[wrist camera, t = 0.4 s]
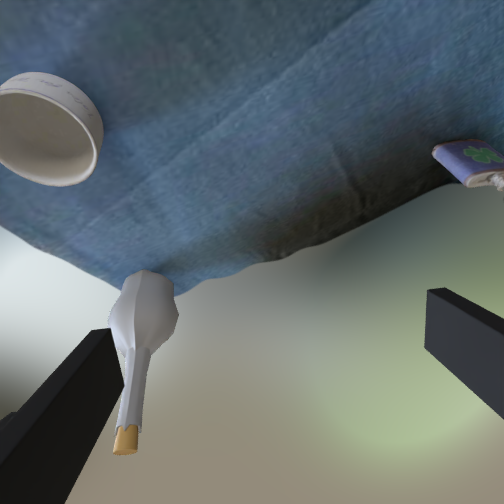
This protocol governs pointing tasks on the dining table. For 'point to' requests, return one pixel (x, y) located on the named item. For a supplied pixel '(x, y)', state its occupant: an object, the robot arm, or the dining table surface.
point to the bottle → (139, 344)
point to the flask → (472, 162)
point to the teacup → (48, 129)
